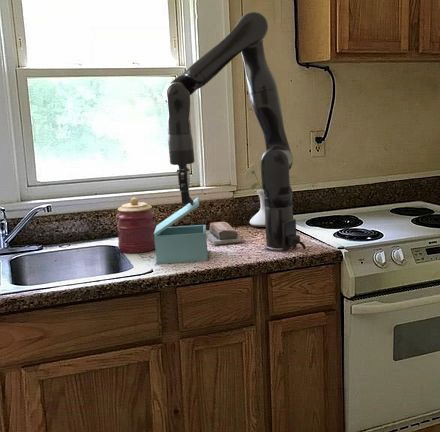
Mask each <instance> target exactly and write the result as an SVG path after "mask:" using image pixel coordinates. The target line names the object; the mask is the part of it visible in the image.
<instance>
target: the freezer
mask: <svg viewBox="0 0 440 432" xmlns="http://www.w3.org/2000/svg"><path fill="white" fill-rule="evenodd" d="M206 231H207V225H206V224H198V225H197V224H196V225H182V226H181V225H180V226H169V227H168V228H166V229H165V230H163V231H162V232H160V233H159V234H157V235H156V236H154V237H155V249H154V250H155V260H156V261H155V262H156V265H163V264H176V263H177V264H179V263H192V262H195V263H196V262H206V261H208V240H207V238H208V237H207V235H206Z"/></svg>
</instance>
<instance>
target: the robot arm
mask: <svg viewBox="0 0 440 432" xmlns="http://www.w3.org/2000/svg"><path fill="white" fill-rule="evenodd" d="M268 29H269V22H268V20H267V18H266V17H265V16H264V15H263V14H261V13H260V12H257V11H250V12H246V13H245V14H243V15H242V16H241V17H240V18H238V20H237V21H236V22H235V26H234V28H233V29H232V30H231V31H230V33H229V34H227V36H226V37H224V38H223V39H222V40H221V41H220V42H218V44H216V45H215V46H213V47H212V48H211V49H209V50H208V51H206V52H205V53H204V54H203V55H202V56H200V57H199V58H198V59H197V60H196V61H195V62H194V63H192V64H191V65H190V66H189V67H188V68H187V69H186V70H185V71H184V72H183V73H181V74H180V75H178V76H177V77H176V78H174V79H173V80H172V81H170V82H169V83H168V84H167V85H166V86H165V87H164V89H163V92H162V96H163V100H164V101H165V103H166V104H167V112H168V116H167V118H166V119H167V120H166V121H167V122H166V124H167V125H166V126H167V134H168V135H167V146H168V153H169V154H168V155H169V164H170V165H171V166H178V169H176V177H177V184H178V186H179V192H180V195H181V204H182V205H187V204H189V196H190V182H191V176H190V175H191V171H190V170H191V169H190V168H188V166H187V165H191V164H194V163H195V151H194V141H193V140H194V139H193V135H192V124H191V117H190V115H191V95H193V94H194V93H195V92H196V91H197V90H199V89H201V88H203V87H204V86H206V85H207V84H208V83H209V82H210V81H212V79H214V78H215V77H216V76H217V75H218V74H219V73H220V72H222V70H223V69H224V68H225V67H226V66H227V65H228V64H230V62H231V61H232V60H233V59H235V58H236V57H237V56H238V55H239V54H240V55H241V57H242V61H243V65H244V71H245V78H246V79H245V80H246V84H247V89H248V94H249V95H248V96H249V100H250V104H251V108H252V111H253V114H254V116H255V119H256V121H257V123H258V125H259V128H260V129H261V132H262V135H263V139H264V145H265V151H264V152H263V153H262V156H261V158H260V178H261V179H260V180H261V183H262V190H263V191H264V203H265V226H266V227H265V248H266V250H268V251H272V252H273V251H274V252H287V251H290V250H294V249H296V248H297V247H298V245H300V246H301V247H302V250H307V247H306V244H305V243H304V242H303V241H301V235H300V234H299V235H298V234H297V220H296V218H294V203H293V201H294V200H293V188H292V186H291V180H290V170H291V169H292V166H293V164H294V156H293V153H292V149H291V146H290V144H289V140H288V137H287V133H286V131H285V124H284V117H283V111H282V104H281V99H280V94H279V89H278V85H277V82H276V78H275V76H274V74H273V72H272V70H271V67H270V66H269V64H268V61H267V58H266V53H265V46H264V38H265V37H266V36H267V34H268V31H269V30H268ZM188 192H189V194H188Z"/></svg>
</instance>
